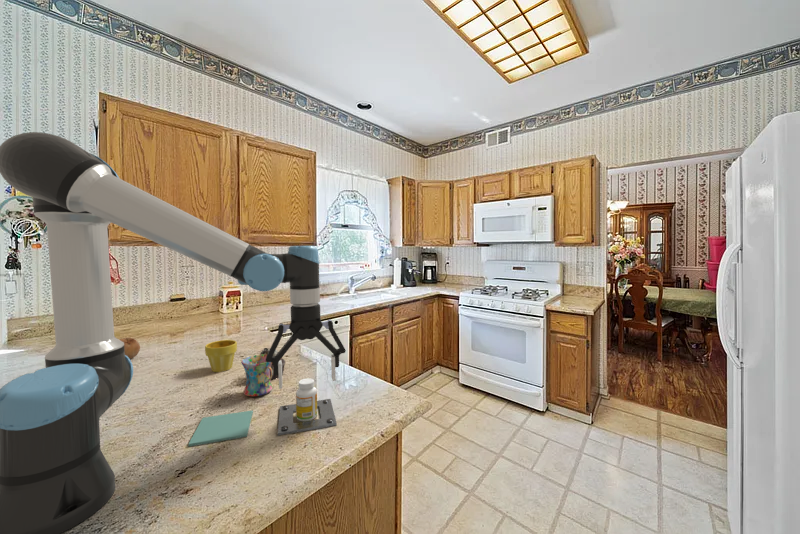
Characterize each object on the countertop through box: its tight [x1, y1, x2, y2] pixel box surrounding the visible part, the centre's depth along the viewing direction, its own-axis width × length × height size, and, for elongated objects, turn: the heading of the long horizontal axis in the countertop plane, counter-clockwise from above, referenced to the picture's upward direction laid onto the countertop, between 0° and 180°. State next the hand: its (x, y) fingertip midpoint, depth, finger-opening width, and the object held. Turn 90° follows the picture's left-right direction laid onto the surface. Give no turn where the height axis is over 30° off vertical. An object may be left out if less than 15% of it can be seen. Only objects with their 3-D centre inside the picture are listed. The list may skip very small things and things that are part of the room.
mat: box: [188, 409, 254, 447], centre depth 79 cm, size 12×12×1 cm
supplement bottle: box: [295, 378, 318, 422], centre depth 84 cm, size 5×5×10 cm
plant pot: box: [204, 339, 238, 373], centre depth 118 cm, size 10×10×10 cm
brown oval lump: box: [118, 337, 141, 360], centre depth 129 cm, size 10×9×10 cm
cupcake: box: [259, 347, 286, 381], centre depth 111 cm, size 10×10×10 cm
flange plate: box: [277, 398, 337, 437], centre depth 84 cm, size 14×14×1 cm
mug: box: [240, 354, 274, 397], centre depth 98 cm, size 12×9×11 cm
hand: (307, 382), depth 84 cm, fingers open, 13 cm apart
